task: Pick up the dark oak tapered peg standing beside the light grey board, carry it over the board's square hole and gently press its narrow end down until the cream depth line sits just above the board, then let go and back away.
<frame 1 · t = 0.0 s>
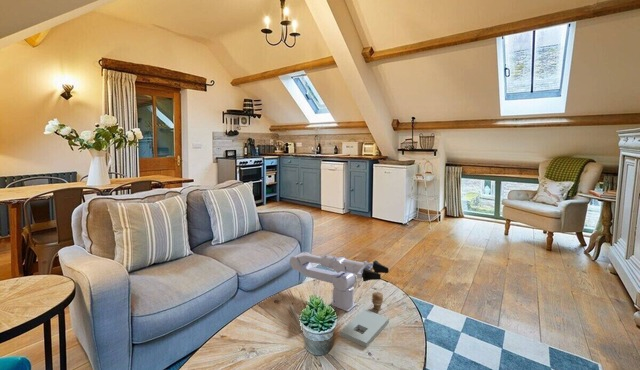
hand: (384, 273, 133), 22 cm above the table, tool horizontal, fingers open, 7 cm apart
board: (365, 328, 130), on the table
caliper: (295, 319, 137), on the table
peg: (377, 308, 145), on the table
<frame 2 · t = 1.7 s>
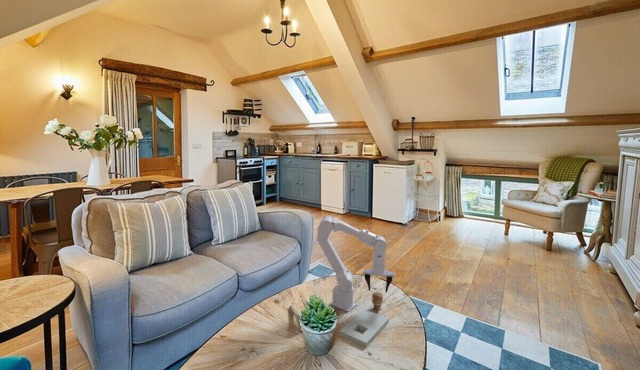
hand: (377, 290, 144), 9 cm above the table, tool pointing down, fingers open, 7 cm apart
nothing on the table moved.
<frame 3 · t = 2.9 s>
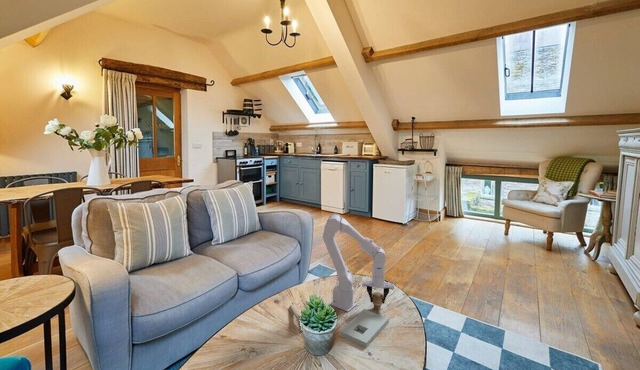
hand: (377, 301, 145), 3 cm above the table, tool pointing down, fingers closed on peg, 5 cm apart
peg: (377, 308, 145), on the table, touching gripper
everything else where it was.
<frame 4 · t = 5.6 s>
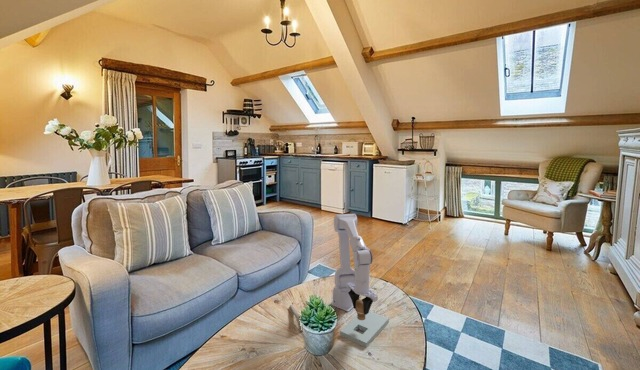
hand: (361, 310, 125), 10 cm above the table, tool pointing down, fingers closed on peg, 5 cm apart
peg: (361, 317, 126), point 7 cm above the table, touching gripper
everything else where it was.
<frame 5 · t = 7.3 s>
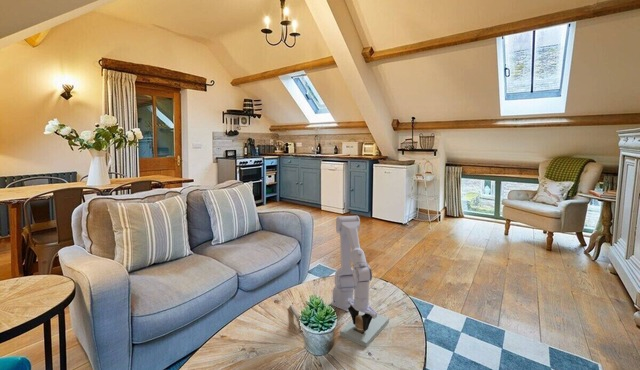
hand: (360, 326, 126), 3 cm above the table, tool pointing down, fingers closed on peg, 5 cm apart
peg: (360, 333, 127), resting in board, touching gripper
everything else where it was.
when the fingers open (3 cm above the table, at t = 8.6 s): peg stays where it is, resting in board.
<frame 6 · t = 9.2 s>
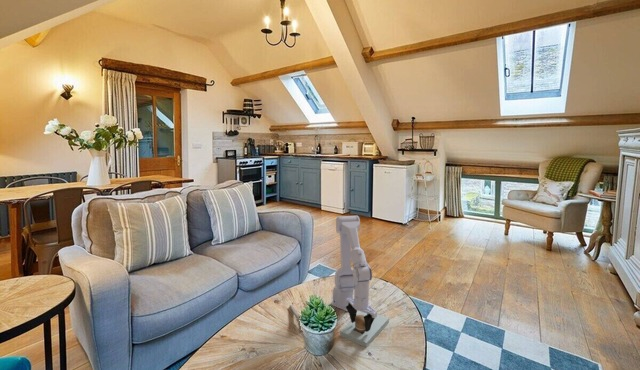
hand: (360, 326, 126), 3 cm above the table, tool pointing down, fingers open, 7 cm apart
peg: (360, 333, 127), resting in board
everything else where it was.
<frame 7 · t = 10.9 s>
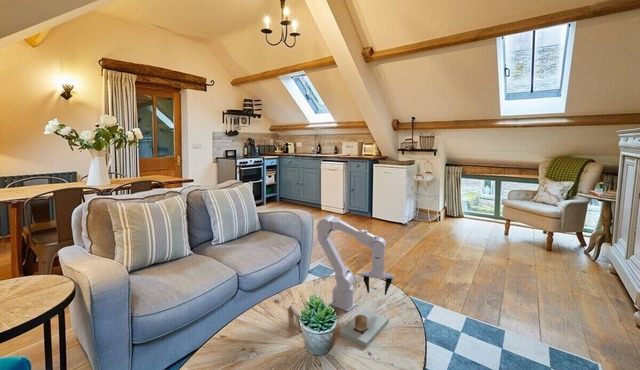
hand: (376, 292, 141), 9 cm above the table, tool pointing down, fingers open, 7 cm apart
nothing on the table moved.
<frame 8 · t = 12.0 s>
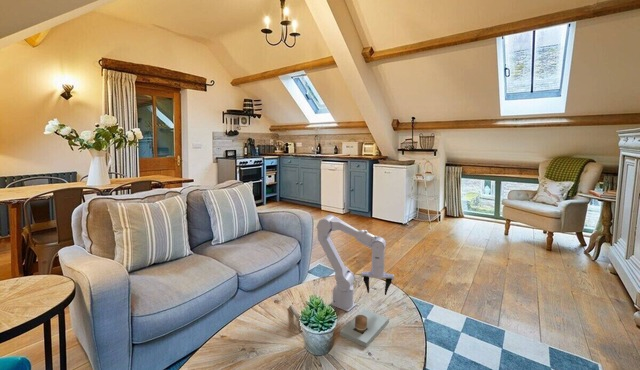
hand: (376, 292, 141), 9 cm above the table, tool pointing down, fingers open, 7 cm apart
nothing on the table moved.
at the end: peg 0.2 cm from the target spot on the board, point 0.0 cm above the board's base; peg tilted 0°; the gripper is holding nothing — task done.
